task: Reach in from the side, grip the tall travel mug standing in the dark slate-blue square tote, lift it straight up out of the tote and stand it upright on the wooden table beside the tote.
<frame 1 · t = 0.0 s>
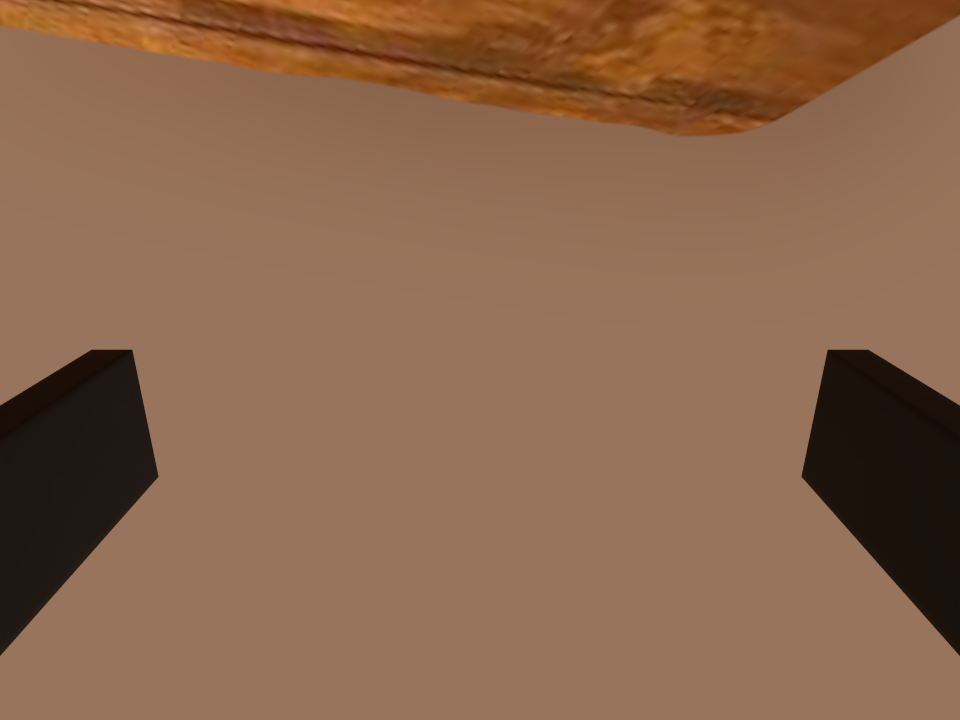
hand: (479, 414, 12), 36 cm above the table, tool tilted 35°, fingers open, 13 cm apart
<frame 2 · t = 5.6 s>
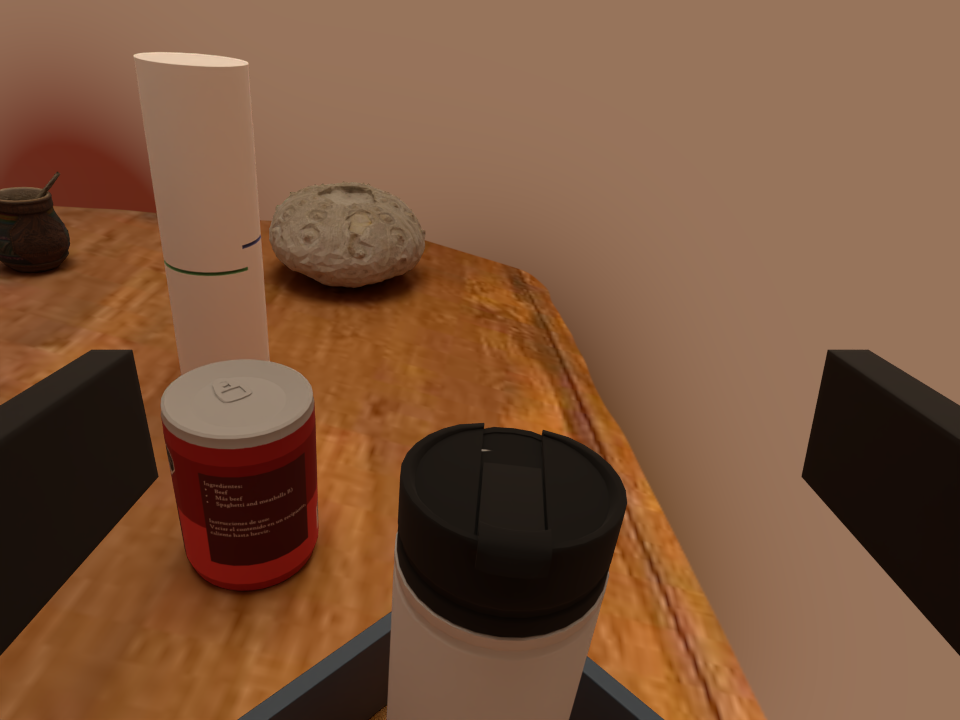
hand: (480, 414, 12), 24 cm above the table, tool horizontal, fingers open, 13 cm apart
cylindrical container: (227, 377, 56), on the table
mate gourd: (39, 266, 71), on the table
decorative shell: (347, 275, 78), on the table
canned food: (254, 546, 40), on the table
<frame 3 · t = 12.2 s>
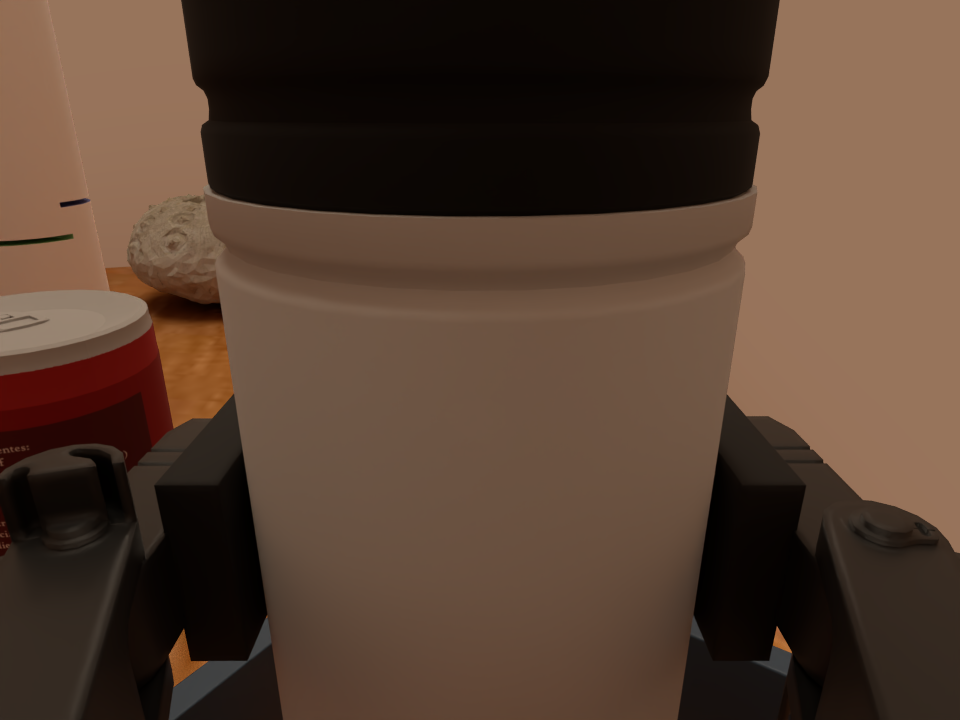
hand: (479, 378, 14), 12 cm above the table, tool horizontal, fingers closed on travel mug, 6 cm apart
cylindrical container: (69, 403, 42), on the table
decorative shell: (233, 298, 66), on the table
canned food: (94, 585, 26), on the table
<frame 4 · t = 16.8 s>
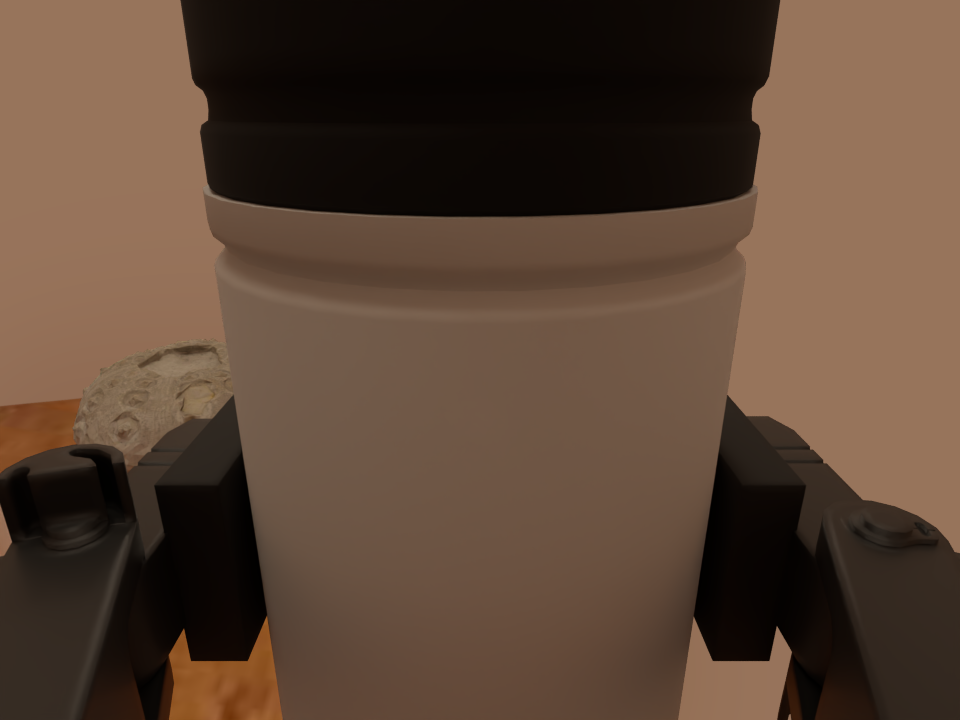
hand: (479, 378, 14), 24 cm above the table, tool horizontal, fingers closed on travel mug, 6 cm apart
decorative shell: (199, 461, 58), on the table
when the fingers open (12 cm above the table, at t = 21.4 s): travel mug stays where it is, on the table.
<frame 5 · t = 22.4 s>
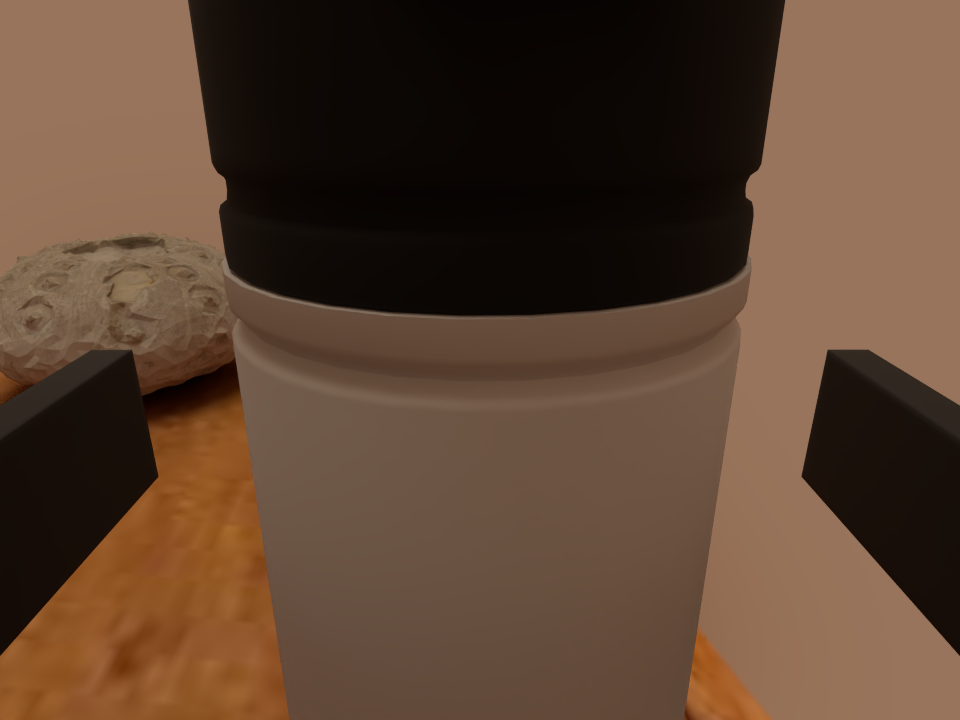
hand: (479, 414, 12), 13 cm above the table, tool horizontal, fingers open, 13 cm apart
decorative shell: (144, 379, 48), on the table
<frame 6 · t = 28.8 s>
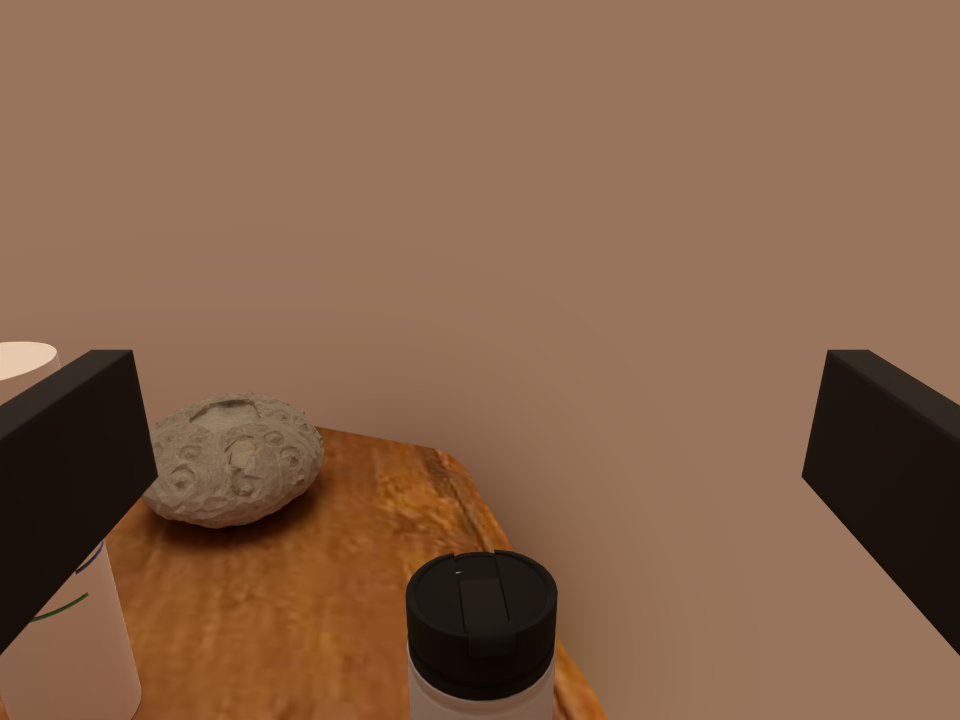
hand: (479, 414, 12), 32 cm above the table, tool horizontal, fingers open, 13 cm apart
cylindrical container: (82, 714, 43), on the table
decorative shell: (238, 500, 67), on the table
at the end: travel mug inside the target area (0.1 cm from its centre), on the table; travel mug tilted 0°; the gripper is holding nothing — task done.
